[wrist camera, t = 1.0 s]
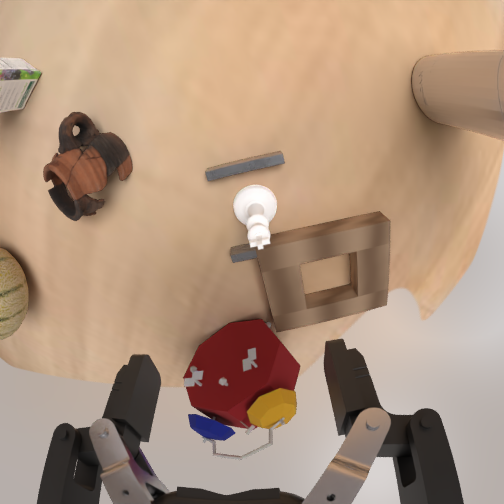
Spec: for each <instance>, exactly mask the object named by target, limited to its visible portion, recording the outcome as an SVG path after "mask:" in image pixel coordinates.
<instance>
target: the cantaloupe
mask: <svg viewBox="0 0 504 504" xmlns="http://www.w3.org/2000/svg"><path fill="white" fill-rule="evenodd" d="M28 295H29V294H28V286H27V282H26V277H25V275H24V272H23V270H22V268H21V266H20V265H19V263H18V262H17V261H16V259H15V258H14V257H13V256H12V255H11V254H10V253H9V252H7V251H6V250H5V249H2V248H0V340H3V339H5V338H7V337H9V336H11V335H12V334H14V332H15V331H17V329H18V328H19V327H20V325H21V324H22V321H23V320H24V318H25V315H26V313H27V309H28V303H29V302H28Z"/></svg>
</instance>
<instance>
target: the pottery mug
mask: <svg viewBox="0 0 504 504" xmlns="http://www.w3.org/2000/svg"><path fill="white" fill-rule="evenodd" d="M74 125H76V126H78V127H79V128H80V132H79V134H78V135H76V136H74V135H73V132H72V130H73V127H74ZM59 142H60V146H59V149H58V151H59V153H61V154H60V155H58V153H56V154H55V155H54V157H53V159H52V162H51V163H49V164H47V165H46V166H45V167H44V171H43V175H44V180H45V182H48V181H49V180H52V182H53V185H54V188H52V189H49V190H48V192H49V194H50V196H51V198H52V200H53V201H54V203H55V204H56V206H57V207H58V208H59V209H60V210H61V212H63V213H64V214H65V215H66V217H68V218H70V219H71V220H73V221H77V220H79V219H80V218H81V216H91V215H95V214H96V212H95V211H96V210H97V209H100V208H102V207H103V205H104V202H105V200H104V199H100V200H96V199H93V198H91V197H89V196H88V195H87V194H90V193H93V192H97V191H101V190H103V188H104V187H105V186H106V184H107V177H108V176H110V175H111V174H112V173H113V171H114V170H115V169H116V168H117V170H118V173H119V180H121V181H123V180H125V179H126V177H127V176H128V175H129V174H130V173H131V172H132V161H131V158H130V156H129V152H128V150H127V148H126V146H125V145H124V143H123V142H122V140H121V139H120V138H119V137H118V136H116V135H115V134H113V133H111V132H109V133H102V134H101V133H100V134H99V131H98V130H97V129H96V128H95V126H94V124H93V122H92V121H91V119H90V118H89V117H88V116H87V115H85V114H83V113H81V112H72V113H71V114H70V115H69V116H68V117H66V118H64V120H63V121H62V123H61V125H60V128H59ZM81 146H88V147H87V148H86V150H85V151H84V152H82V150H81V149H79V147H81ZM65 185H66V186H67V188H68V190H69V192H70V194H71V196H72V198H73V200H74V201H73V200H72V199H71V198H70V197H69V195H68V193H67V190H66V187H65Z"/></svg>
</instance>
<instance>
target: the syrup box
mask: <svg viewBox="0 0 504 504" xmlns="http://www.w3.org/2000/svg"><path fill="white" fill-rule="evenodd" d="M40 75H41V72H40V71H39V70H37V69H36V68H34V67H33V66H32V65H30V64H29V63H27V62H26V61H25V60H23V59H21V58H0V113H2V112H7V111H13V110H20V109H24V107H25V104H26V102H27V100H28V98H29V96H30V94H31V92H32V90H33V88H34V86H35V84H36V82H37V80H38V78H39V76H40Z"/></svg>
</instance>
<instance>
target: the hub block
mask: <svg viewBox="0 0 504 504" xmlns="http://www.w3.org/2000/svg"><path fill="white" fill-rule="evenodd" d="M255 250H256V254H257V258H258V262H259V266H260V270H261V273H262V277H263V281H264V285H265V289H266V293H267V297H268V301H269V304H270V308H271V312H272V316H273V320H274V324H275V328H276V332H281V331H285V330H290V329H295V328H299V327H304V326H308V325H313V324H317V323H321V322H326V321H330V320H334V319H338V318H342V317H346V316H349V315H353V314H357V313H361V312H364V311H368V310H371V309H375V308H378V307H382V306H385V305H387V296H388V284H389V265H390V220H389V219H388V218H386V217H385V216H384V215H383V214H382V213H381V212H380V211H379V212H374V213H370V214H365V215H360V216H355V217H350V218H346V219H341V220H336V221H332V222H327V223H322V224H318V225H313V226H308V227H304V228H299V229H294V230H290V231H285V232H281V233H276V234H272V235H270V244H266V245H263V249H259V250H258V246H256V247H255ZM347 253H350V269H351V284H348V285H344V286H340V287H336V288H332V289H328V290H323V291H319V292H315V293H310V294H306V295H305V294H304V288H303V281H302V275H301V269H300V264H304V263H308V262H313V261H317V260H321V259H326V258H330V257H335V256H339V255H343V254H347Z"/></svg>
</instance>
